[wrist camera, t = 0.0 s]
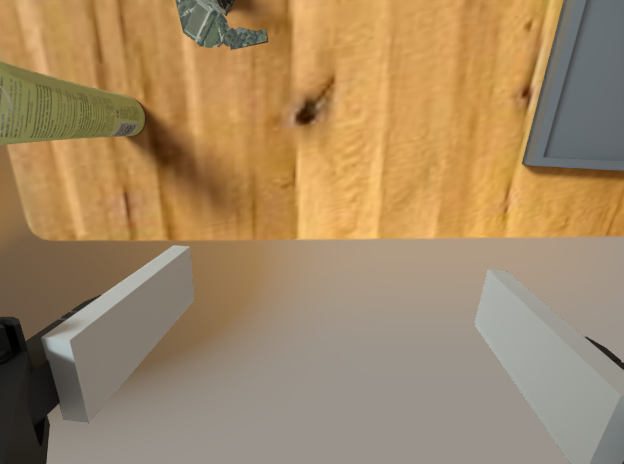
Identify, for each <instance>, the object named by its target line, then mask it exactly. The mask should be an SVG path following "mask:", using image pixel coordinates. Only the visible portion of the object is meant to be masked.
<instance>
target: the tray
mask: <svg viewBox="0 0 624 464" xmlns="http://www.w3.org/2000/svg"><path fill="white" fill-rule="evenodd" d="M522 164H525V165H531V166H547V167H565V168H583V169H602V170H620V171H624V0H564V2H563V6H562V9H561V13H560V17H559V21H558V25H557V29H556V33H555V37H554V41H553V45H552V49H551V52H550V56H549V60H548V64H547V68H546V72H545V76H544V80H543V84H542V88H541V91H540V95H539V99H538V103H537V107H536V111H535V115H534V119H533V123H532V127H531V130H530V134H529V138H528V142H527V146H526V150H525V154H524V158H523V162H522Z"/></svg>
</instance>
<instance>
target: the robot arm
mask: <svg viewBox="0 0 624 464" xmlns="http://www.w3.org/2000/svg"><path fill="white" fill-rule="evenodd" d="M193 301H194V291H193V279H192V268H191V255H190V247H187V246H175V245H174V246H172V247H171V248H169V249H168V250H166V251H165V252H164V253H162V254H160V255H159V256H158V257H156V258H155V259H153V260H152V261H150V262H149V263H148V264H146V265H145V266H143V267H142V268H140V269H139V270H137V271H136V272H135V273H133V274H132V275H130V276H129V277H127V278H126V279H125V280H123V281H122V282H120V283H119V284H117V285H116V286H115V287H113V288H112V289H110V290H109V291H107V292H106V293H104V294H103V295H99V296H97V297H95V298H92V299H90V300H88V301H85V302H83V303H82V304H80V305H79V306H77V307H76V308H74V309H73V310H72V311H71V312H69V313H67V314H65V315H64V316H62V317H61V319H60V320H57V321H55V322H54V323H52V324H51V325H49V326H48V327H46V328H45V329H43V330H42V331H40V332H39V333H37V334H36V335H34V336H33V337H31V338H30V339H28V340H27V341H25V338H24V335H23V332H22V328H21V325H20V321H19V319H17V318H14V317H0V464H46V462H47V449H48V438H49V427H50V424H49V420H48V417H47V414H48V413H49V412H51V410H53V409H54V408H55V407H56V406H57V405H58V404H59V405H60V409H61V412H62V416H63V419H64V420H71V421H79V422H88V423H89V422H90V421H91V420H92V419H93V418H94V416H95V415H96V414H97V413H98V412H99V411H100V409H101V408H102V407H103V406H104V405H105V403H106V402H107V401H108V400H109V399H110V398H111V397H112V395H113V394H114V393H115V392H116V391H117V390H118V388H119V387H120V386H121V385H122V384H123V382H124V381H125V380H126V379H127V378H128V377H129V376H130V374H131V373H132V372H133V371H134V370H135V369H136V367H137V366H138V365H139V364H140V363H141V362H142V360H143V359H144V358H145V357H146V355H147V354H148V353H149V352H150V351H151V350H152V349H153V347H154V346H155V345H156V344H157V343H158V342H159V340H160V339H161V338H162V337H163V336H164V335H165V333H166V332H167V331H168V330H169V329H170V328H171V326H172V325H173V324H174V323H175V322H176V321H177V319H178V318H179V317H180V316H181V315H182V313H183V312H184V311H185V310H186V309H187V307H188V306H189V305H190V304H191V303H192V302H193ZM474 325H475V326H476V328H477V329H478V331H479V332H480V334H481V335H482V337H483V338H484V340H485V341H486V342H487V344H488V345H489V347H490V348H491V350H492V351H493V352H494V354H495V356H496V357H497V358H498V360H499V361H500V363H501V364H502V365H503V367H504V369H505V370H506V372H507V373H508V374H509V375H510V377H511V379H512V380H513V382H514V383H515V384H516V386H517V388H518V389H519V390H520V392H521V393H522V395H523V396H524V397H525V399H526V401H527V402H528V403H529V405H530V406H531V408H532V409H533V411H534V412H535V414H536V415H537V416H538V418H539V419H540V421H541V422H542V424H543V425H544V427H545V428H546V430H547V431H548V432H549V434H550V435H551V437H552V438H553V440H554V441H555V442H556V444H557V446H558V447H559V448H560V450H561V451H562V453H563V454H564V456H565V457H566V459H567V460H568V462H569V463H570V464H624V363H622V362H621V360H620V359H619V358H618V357H616V356H615V355H614V354H613V353H611V352H610V351H609V350H608V349H607V348H605V347H603V346H602V345H600V344H598V343H596V342H595V341H593V340H591V339H589V338H588V337H584V336H583V335H581V334H580V333H579V332H578V331H577V330H575V329H574V328H573V327H572V326H571V325H570V324H568V323H567V322H566V321H565V320H564V319H563V318H561V317H560V316H559V315H558V314H556V312H554V311H553V310H552V309H551V308H550V307H548V306H547V305H546V304H545V303H544V302H543V301H541V300H540V299H539V298H538V297H537V296H535V295H534V294H533V293H532V292H531V291H530V290H528V289H527V288H526V287H525V286H524V285H523V284H521V283H520V282H519V281H518V280H517V279H515V278H514V277H513V276H512V275H511V274H509V273H508V272H507V271H502V270H488V271H487V275H486V279H485V283H484V287H483V291H482V295H481V299H480V303H479V307H478V311H477V315H476V319H475V323H474Z"/></svg>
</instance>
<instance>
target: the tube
mask: <svg viewBox="0 0 624 464" xmlns="http://www.w3.org/2000/svg"><path fill="white" fill-rule="evenodd" d="M144 123H145V115H144V111H143V109H142V107H141V105H140V104H139V103H138V102H137V101H136V100H135V99H133V98H132V97H129V96H126V95H122V94H118V93H113V92H109V91H105V90H101V89H96V88H92V87H88V86H84V85H80V84H77V83H73V82H69V81H65V80H62V79H58V78H54V77H51V76H47V75H44V74H40V73H37V72H33V71H30V70H27V69H23V68H20V67H17V66H14V65H10V64H7V63H4V62H1V61H0V145H7V144H16V143H27V142H38V141H50V140H63V139H78V138H96V137H120V136H133V135H136V134H138V133H139V132H140V131H141V130H142V129H143V127H144Z"/></svg>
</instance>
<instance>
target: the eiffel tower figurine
mask: <svg viewBox="0 0 624 464" xmlns="http://www.w3.org/2000/svg"><path fill="white" fill-rule="evenodd" d="M233 2H234V0H176V4H177V8H178V12H179V17H180V21H181V25H182V29H183V33H184V34H186V35H187V36H188V37H190V38H191V39H192V40H194V41H195V42H196V43H197V44H198V45H199V46H204V47H207V48H212V47H214V46H217V47H220V46H221V45H222V44H223V43H224V44H225V45H226V46H227V47H228V46H229V45H230V47H231V50H232V49H236V48H240V47H245V46H249V45H253V44H257V43H261V42H266V41H267V33H266V29H264V30H259V31H254V30H249V29H246V28H242V27H239V28H237V29H235V30H234V29H233V28H231V27H228V24H227V20H226V19H225V17H224V16H223V14H225V15H226V16H227V14H228V12H229V10H230V8H231V6H232V4H233ZM222 13H223V14H222Z"/></svg>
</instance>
